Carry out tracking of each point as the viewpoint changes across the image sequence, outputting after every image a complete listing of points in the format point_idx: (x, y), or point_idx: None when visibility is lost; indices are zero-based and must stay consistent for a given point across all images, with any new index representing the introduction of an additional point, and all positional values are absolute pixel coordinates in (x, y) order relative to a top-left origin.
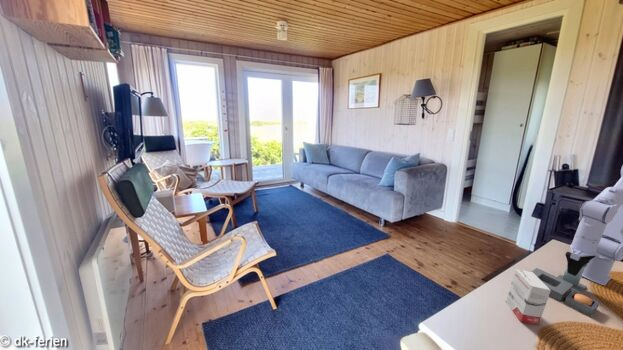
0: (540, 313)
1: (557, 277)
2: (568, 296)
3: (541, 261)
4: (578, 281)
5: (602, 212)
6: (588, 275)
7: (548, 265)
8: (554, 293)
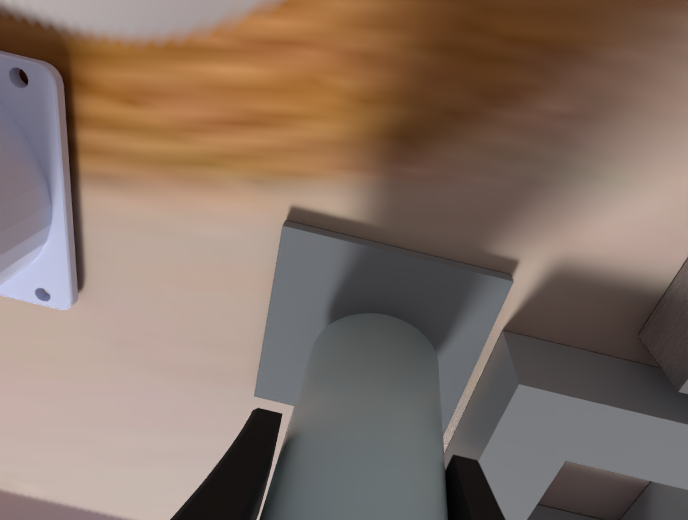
0: None
1: None
2: None
3: (126, 477)
4: (406, 351)
5: None
6: (33, 224)
7: (146, 444)
8: None
